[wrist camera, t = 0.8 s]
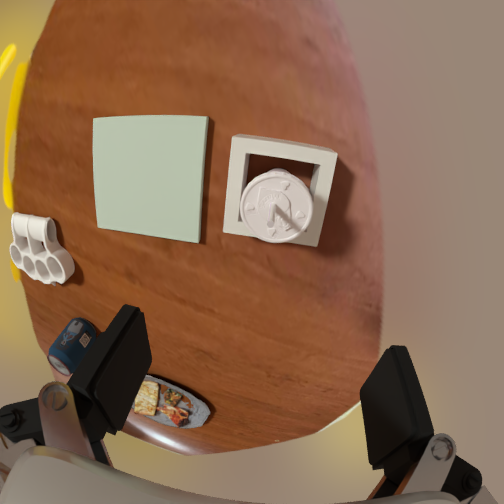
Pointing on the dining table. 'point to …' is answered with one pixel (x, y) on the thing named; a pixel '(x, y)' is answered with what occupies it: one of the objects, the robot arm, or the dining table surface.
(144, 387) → the food plate
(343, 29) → the dining table surface
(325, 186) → the drink caddy
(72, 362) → the soda can
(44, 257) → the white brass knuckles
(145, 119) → the serving mat
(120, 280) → the dining table surface
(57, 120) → the dining table surface
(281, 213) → the smoothie
